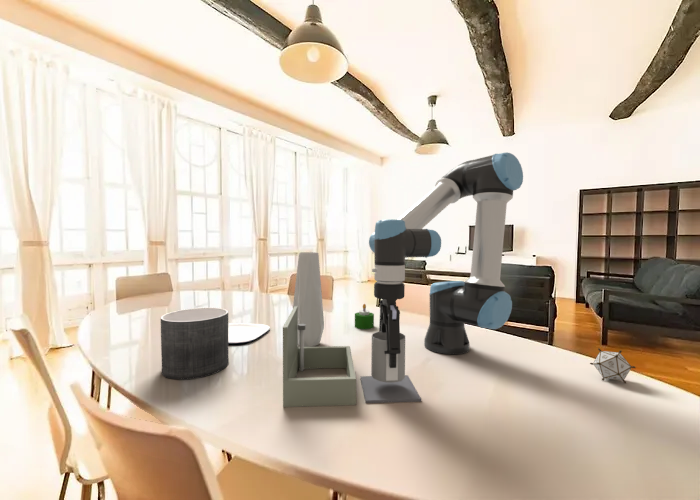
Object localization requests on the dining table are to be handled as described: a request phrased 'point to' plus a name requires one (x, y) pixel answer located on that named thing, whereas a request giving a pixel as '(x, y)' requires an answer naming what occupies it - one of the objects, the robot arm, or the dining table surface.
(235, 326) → the plate
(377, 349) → the cup
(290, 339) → the case
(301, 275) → the vase
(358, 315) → the candle
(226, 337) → the planter
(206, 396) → the dining table surface
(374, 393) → the mat
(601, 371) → the game die
